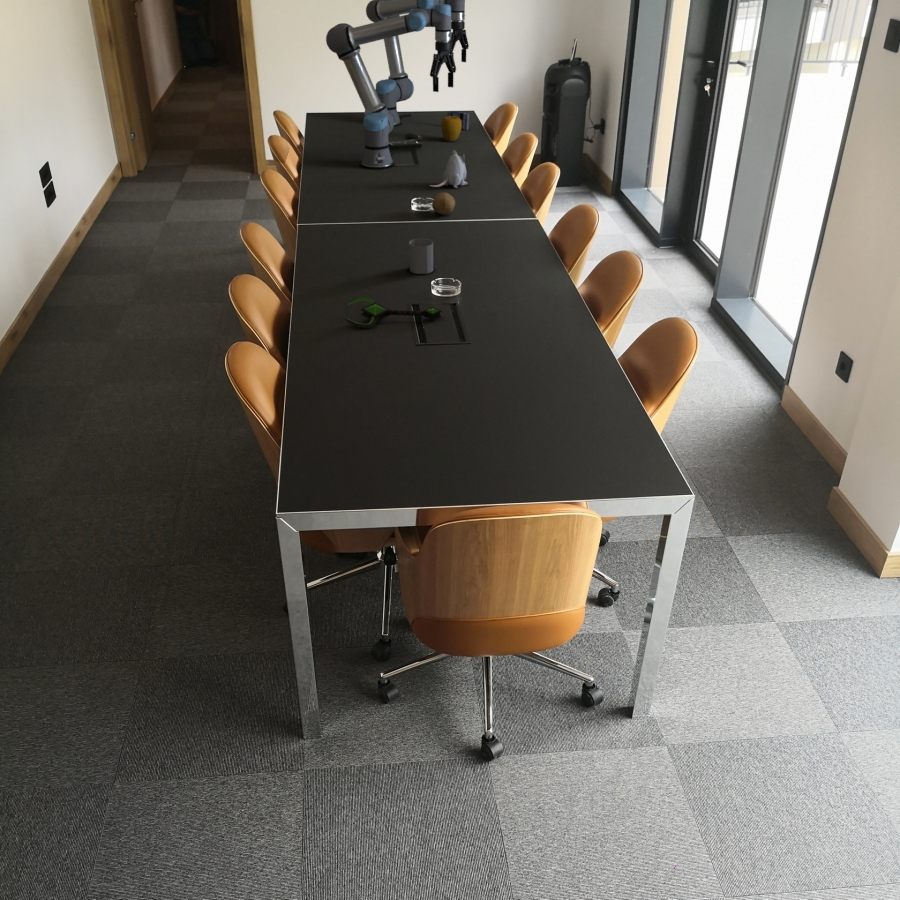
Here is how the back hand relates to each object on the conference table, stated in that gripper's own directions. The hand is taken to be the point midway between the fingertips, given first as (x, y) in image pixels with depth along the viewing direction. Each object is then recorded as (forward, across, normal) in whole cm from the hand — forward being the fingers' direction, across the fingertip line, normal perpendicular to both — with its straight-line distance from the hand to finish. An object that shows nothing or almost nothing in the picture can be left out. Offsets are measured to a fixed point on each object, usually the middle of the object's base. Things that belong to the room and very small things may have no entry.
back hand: (457, 63), depth 477 cm
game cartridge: (+34, 0, 0) cm, 34 cm away
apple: (+34, -27, -13) cm, 46 cm away
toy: (+34, -106, -58) cm, 125 cm away
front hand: (+1, -64, -30) cm, 71 cm away
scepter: (+34, -238, -120) cm, 269 cm away
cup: (+34, -197, -104) cm, 226 cm away
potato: (+34, -138, -76) cm, 162 cm away
